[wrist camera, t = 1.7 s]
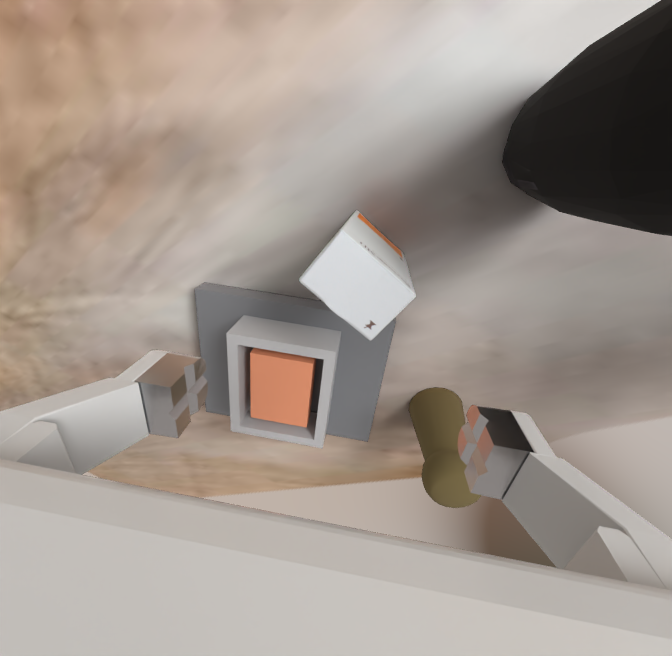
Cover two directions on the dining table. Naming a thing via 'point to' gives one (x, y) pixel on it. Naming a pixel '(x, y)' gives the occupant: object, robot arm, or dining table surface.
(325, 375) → the switch box
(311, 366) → the button
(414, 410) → the cork
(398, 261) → the skincare box
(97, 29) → the dining table surface
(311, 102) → the dining table surface
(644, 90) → the portable speaker
